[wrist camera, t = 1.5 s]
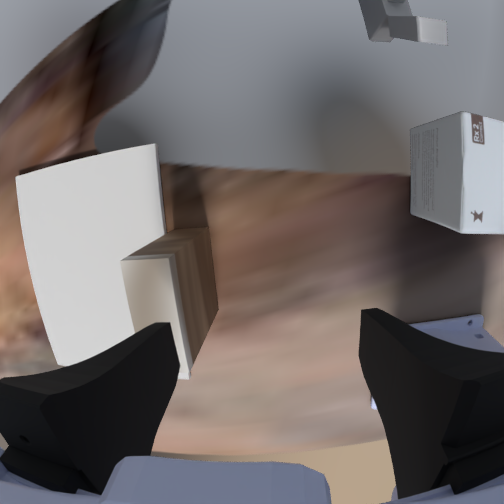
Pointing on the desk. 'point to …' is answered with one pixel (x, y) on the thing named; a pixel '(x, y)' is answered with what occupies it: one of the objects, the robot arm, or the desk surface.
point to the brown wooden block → (174, 288)
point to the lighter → (400, 23)
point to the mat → (89, 244)
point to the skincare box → (459, 173)
